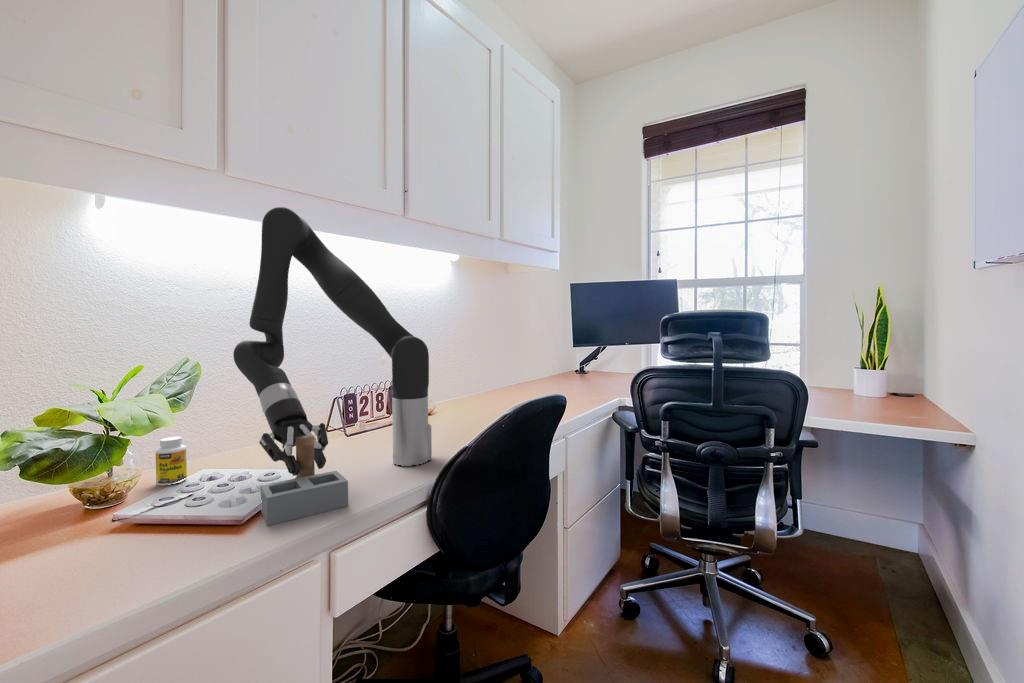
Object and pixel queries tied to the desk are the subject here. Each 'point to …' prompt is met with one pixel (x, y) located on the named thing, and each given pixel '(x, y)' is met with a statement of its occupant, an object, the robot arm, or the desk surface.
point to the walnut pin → (305, 455)
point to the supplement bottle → (171, 461)
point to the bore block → (303, 497)
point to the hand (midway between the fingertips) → (309, 469)
